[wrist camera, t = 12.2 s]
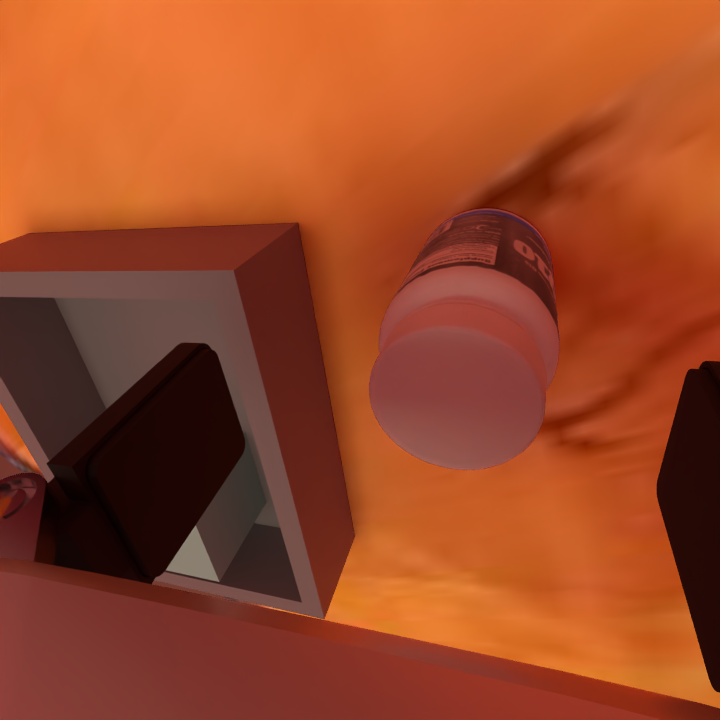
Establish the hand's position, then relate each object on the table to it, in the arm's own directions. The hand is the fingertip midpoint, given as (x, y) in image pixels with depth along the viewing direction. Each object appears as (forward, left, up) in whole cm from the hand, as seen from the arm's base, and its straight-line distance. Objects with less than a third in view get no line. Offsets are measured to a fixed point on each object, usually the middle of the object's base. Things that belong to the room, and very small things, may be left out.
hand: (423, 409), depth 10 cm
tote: (-8, +14, -9) cm, 18 cm away
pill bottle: (-1, 0, -10) cm, 10 cm away
